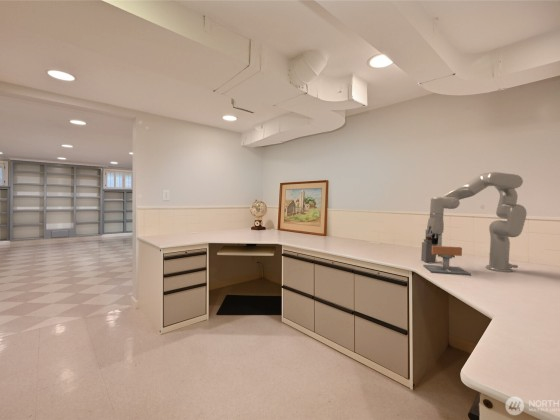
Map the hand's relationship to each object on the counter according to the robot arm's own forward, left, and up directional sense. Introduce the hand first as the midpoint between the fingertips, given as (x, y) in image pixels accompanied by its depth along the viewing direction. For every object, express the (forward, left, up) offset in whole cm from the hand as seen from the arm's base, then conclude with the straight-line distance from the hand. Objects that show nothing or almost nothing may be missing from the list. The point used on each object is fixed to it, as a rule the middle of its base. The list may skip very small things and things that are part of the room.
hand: (434, 244), depth 168 cm
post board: (-5, +6, -15) cm, 17 cm away
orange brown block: (-5, +6, -7) cm, 10 cm away
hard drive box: (-16, -51, -16) cm, 55 cm away
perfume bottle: (-2, -17, -16) cm, 23 cm away
